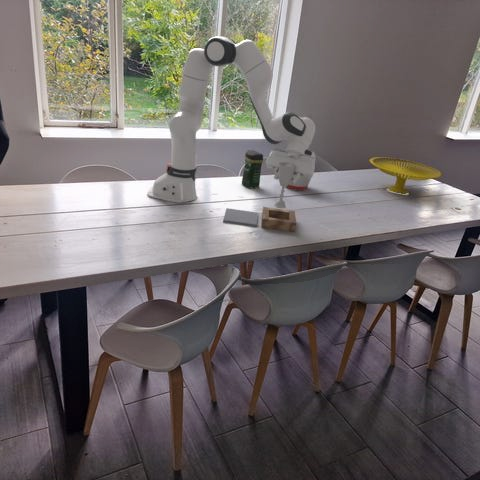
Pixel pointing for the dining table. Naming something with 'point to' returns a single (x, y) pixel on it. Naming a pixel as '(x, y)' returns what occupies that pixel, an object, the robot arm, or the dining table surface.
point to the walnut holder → (278, 219)
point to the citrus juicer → (299, 183)
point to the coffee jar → (252, 169)
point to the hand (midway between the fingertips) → (284, 180)
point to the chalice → (284, 181)
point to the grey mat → (240, 217)
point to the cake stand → (403, 172)
